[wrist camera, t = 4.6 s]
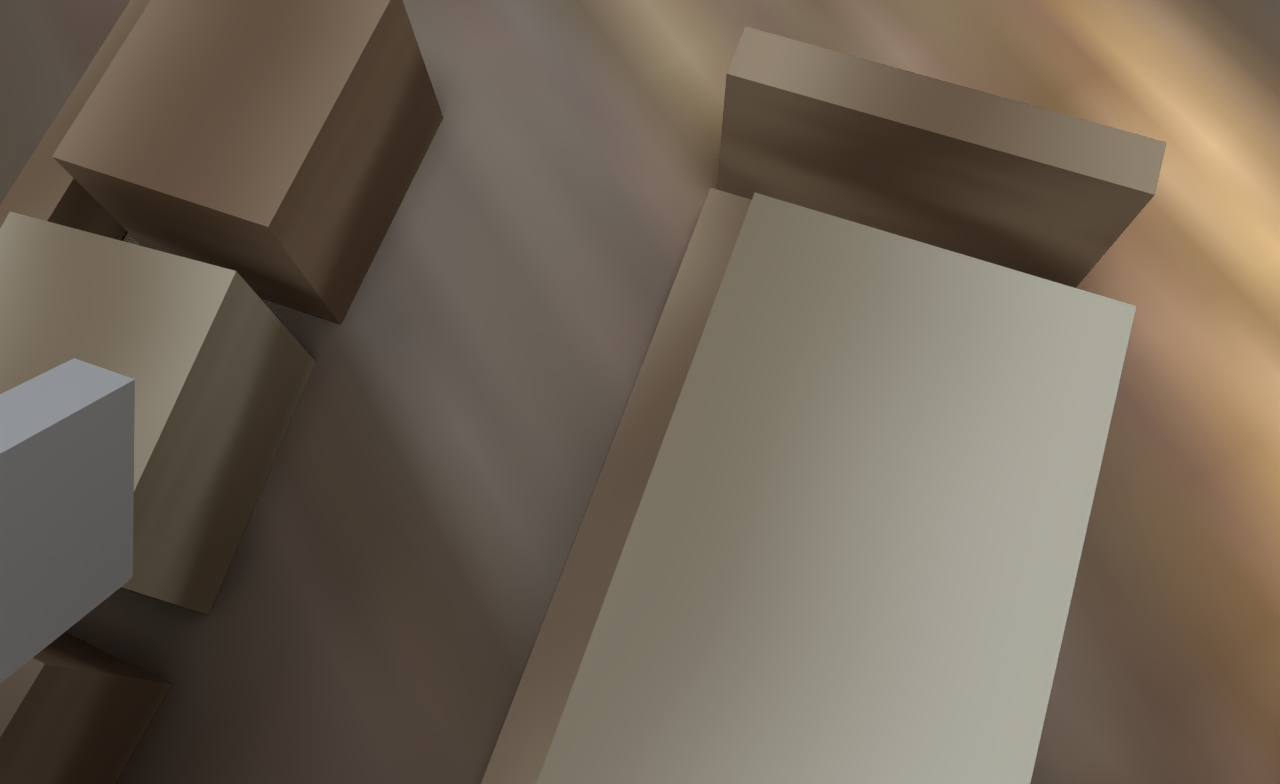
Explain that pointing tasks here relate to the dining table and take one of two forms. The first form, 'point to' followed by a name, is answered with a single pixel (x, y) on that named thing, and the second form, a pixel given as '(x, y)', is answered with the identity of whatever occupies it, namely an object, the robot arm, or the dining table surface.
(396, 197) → the offcut block
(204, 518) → the offcut block
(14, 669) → the robot arm
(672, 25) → the dining table surface
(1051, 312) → the tall beige block
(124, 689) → the offcut block
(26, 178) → the oak rack
